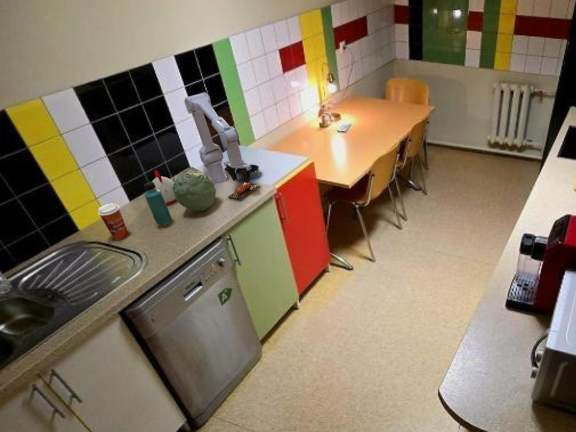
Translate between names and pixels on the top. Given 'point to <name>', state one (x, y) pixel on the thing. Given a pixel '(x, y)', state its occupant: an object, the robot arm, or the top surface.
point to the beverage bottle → (157, 204)
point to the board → (243, 193)
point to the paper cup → (113, 220)
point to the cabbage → (194, 189)
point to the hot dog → (243, 188)
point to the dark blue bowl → (253, 174)
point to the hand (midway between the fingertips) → (241, 181)
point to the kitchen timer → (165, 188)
